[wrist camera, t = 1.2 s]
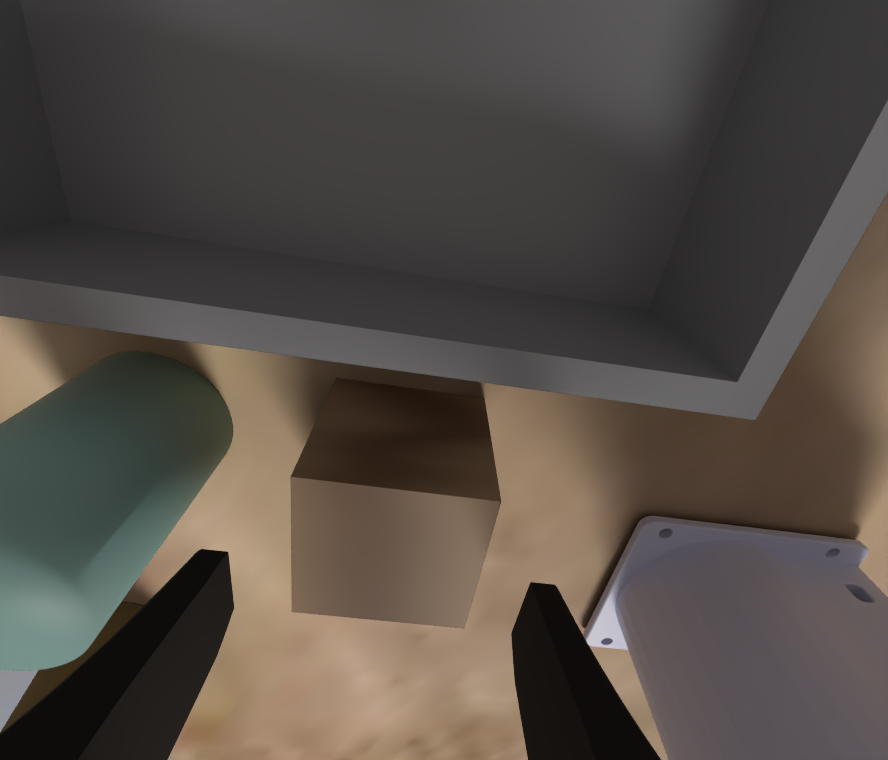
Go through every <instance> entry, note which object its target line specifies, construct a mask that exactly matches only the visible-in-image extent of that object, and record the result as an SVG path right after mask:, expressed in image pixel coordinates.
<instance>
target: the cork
mask: <svg viewBox="0 0 888 760" xmlns="http://www.w3.org/2000/svg"><path fill="white" fill-rule="evenodd" d="M142 607H143V606H141V605H137V604H133V603H122V602H121V603H120V604H119V606H118V607H117V609H116V610H115V611H114V613H113V614H112V616H111V617H110V618H109V620H108V621H107V623H106V624H105V626H104V627H103V628H102V630H101V631H100V633H99V634H98V635H97V637H96V638H95V640H94V641H93V643H92V644H91V645H90V647H89V648H88V649H87V650H86V651H85V652H84V653H83V654H82V655H81V656H79V657H78V658H76V659H75V660H73V661H71V662H69V663H66V664H63V665H60V666H57V667H53V668H48V669H41V670H39V671H38V672H37V674H36V676H35V677H34V679H33V680H32V682H31V684H30V685H29V687H28V689H27V690H26V692H25V694H24V695H23V696H22V698H21V700H20V701H19V703H18V705H17V706H16V708H15V709H14V711H13V713H12V714H11V716H10V718H9V719H8V721H7V722H6V724H5V726H4V727H3V729H2V731H4V730H5V729H6V728H7V727H9V726H10V725H11V724H12V723H14V722H15V721H16V720H17V719H18V718H20V717H21V716H22V715H23V714H24V713H26V712H27V711H28V710H29V709H31V708H32V707H33V706H34V705H35V704H36V703H38V702H39V701H40V700H41V699H42V698H44V697H45V696H46V695H47V694H48V693H49V692H51V691H52V690H53V689H54V688H55V687H56V686H58V685H59V684H60V683H61V682H62V681H63V680H64V679H65V678H67V677H68V676H69V675H70V674H71V673H72V672H73V671H74V670H76V669H77V668H78V667H79V666H80V665H81V664H82V663H83V662H85V661H86V660H87V659H88V658H89V657H90V656H91V655H92V654H94V653H95V652H96V651H97V650H98V649H99V648H100V647H101V646H102V645H103V644H105V643H106V642H107V641H108V640H109V639H110V638H111V637H112V636H113V635H114V634H115V633H116V632H117V631H118V630H119V629H120V628H121V627H122V626H123V625H125V624H126V623H127V622H128V621H129V620H130V619H131V618H132V617H133V616H134V615H135V614H136V613H137V612H138V611H139V610H140V609H141V608H142ZM2 731H1V732H2ZM1 732H0V733H1Z"/></svg>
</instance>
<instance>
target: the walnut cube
mask: <svg viewBox="0 0 888 760" xmlns="http://www.w3.org/2000/svg"><path fill="white" fill-rule="evenodd" d="M500 504H501V498H500V491H499V485H498V479H497V473H496V467H495V460H494V454H493V448H492V442H491V436H490V429H489V423H488V417H487V411H486V405H485V398H479V397H472V396H465V395H457V394H450V393H443V392H435V391H428V390H420V389H413V388H406V387H398V386H391V385H384V384H376V383H369V382H362V381H354V380H347V379H340V378H336V380H335V382H334V384H333V386H332V388H331V390H330V393H329V395H328V397H327V399H326V401H325V403H324V406H323V408H322V410H321V412H320V414H319V416H318V419H317V421H316V423H315V425H314V427H313V429H312V432H311V434H310V436H309V438H308V440H307V443H306V445H305V447H304V449H303V451H302V453H301V456H300V458H299V460H298V462H297V464H296V466H295V469H294V471H293V473H292V475H291V572H292V612H298V613H309V614H319V615H329V616H340V617H350V618H361V619H371V620H381V621H392V622H402V623H413V624H423V625H433V626H444V627H454V628H464V629H465V625H466V622H467V618H468V615H469V611H470V608H471V604H472V601H473V597H474V594H475V591H476V587H477V584H478V580H479V577H480V573H481V570H482V566H483V563H484V559H485V556H486V553H487V549H488V546H489V542H490V539H491V535H492V532H493V528H494V525H495V521H496V518H497V515H498V511H499V508H500Z"/></svg>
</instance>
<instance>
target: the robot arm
mask: <svg viewBox="0 0 888 760" xmlns="http://www.w3.org/2000/svg"><path fill="white" fill-rule="evenodd" d="M663 529H664V530H663ZM867 555H868V549H867V547H866V546H865V545H863V544H862V543H861V542H860V541H858V540H852V539H844V538H835V537H827V536H819V535H810V534H802V533H793V532H785V531H777V530H768V529H760V528H752V527H743V526H735V525H726V524H718V523H710V522H701V521H693V520H685V519H676V518H668V517H659V516H647V517H644V518H643V519H641V520H640V521H639V523H638V524H637V526H636V528H635V530H634V532H633V534H632V536H631V538H630V540H629V542H628V544H627V546H626V548H625V550H624V552H623V554H622V556H621V558H620V560H619V562H618V564H617V566H616V568H615V570H614V572H613V574H612V576H611V578H610V580H609V582H608V584H607V586H606V588H605V590H604V592H603V594H602V596H601V598H600V600H599V602H598V604H597V606H596V608H595V610H594V612H593V614H592V616H591V618H590V620H589V622H588V625H587V627H586V629H585V631H584V633H583V634H582V633H581V631H580V629H579V627H578V626H577V624H576V622H575V620H574V618H573V616H572V614H571V613H570V611H569V609H568V607H567V605H566V603H565V601H564V599H563V598H562V596H561V594H560V592H559V590H558V588H557V587H556V586H555V585H552V584H542V583H532V582H530V585H529V588H528V590H527V593H526V596H525V598H524V601H523V604H522V606H521V609H520V612H519V615H518V617H517V620H516V623H515V625H514V628H513V631H512V649H513V664H514V677H515V685H516V691H517V697H518V703H519V709H520V715H521V721H522V727H523V733H524V738H525V744H526V750H527V756H528V760H661V759H660V757H659V756H658V755H657V753H656V752H655V750H654V749H653V747H652V746H651V744H650V743H649V741H648V740H647V739H646V737H645V736H644V734H643V733H642V731H641V730H640V728H639V726H638V725H637V723H636V722H635V720H634V719H633V717H632V716H631V714H630V713H629V711H628V710H627V708H626V707H625V705H624V703H623V702H622V700H621V699H620V697H619V695H618V694H617V692H616V691H615V689H614V687H613V686H612V684H611V682H610V681H609V679H608V677H607V676H606V674H605V672H604V671H603V669H602V667H601V666H600V664H599V662H598V661H597V659H596V657H595V656H594V654H593V652H592V650H591V649H590V647H589V645H590V646H595V647H605V648H616V649H626V650H629V653H630V656H631V659H632V661H633V664H634V667H635V669H636V672H637V675H638V678H639V680H640V683H641V686H642V689H643V691H644V694H645V697H646V700H647V702H648V705H649V708H650V710H651V713H652V716H653V719H654V721H655V724H656V727H657V730H658V732H659V735H660V738H661V741H662V743H663V746H664V749H665V751H666V754H667V757H668V760H888V597H887V596H886V595H885V594H884V593H883V592H882V591H881V590H880V589H879V588H878V587H877V586H876V585H875V584H874V583H873V582H872V581H871V580H870V579H869V578H868V577H867V576H866V574H865V573H864V572H863V571H862V570H861V569H860V568H859V567H858V566H859V565H860V564H861V562H862V561H863V560H864V559H865V558H866V557H867ZM233 610H234V602H233V593H232V583H231V574H230V565H229V555H228V552H225V551H215V550H205V549H201V550H199V551H198V552H196V553H195V554H194V555H193V556H192V557H191V559H190V560H189V561H188V562H187V563H186V564H185V565H184V566H183V567H182V568H181V569H180V570H179V571H178V572H177V573H176V574H175V575H174V576H173V577H172V578H171V579H170V580H169V581H168V582H167V583H166V584H165V585H164V586H163V587H162V588H161V589H160V590H159V591H158V592H157V593H156V594H155V595H154V596H153V597H152V598H151V599H150V600H149V601H148V602H147V603H146V604H145V605H144V606H143V607H142V608H141V609H140V610H139V611H138V612H137V613H136V614H135V615H134V616H133V617H132V618H131V619H130V620H129V621H128V622H127V623H126V624H125V625H123V626H122V627H121V628H120V629H119V630H118V631H117V632H116V633H115V634H114V635H113V636H112V637H111V638H110V639H109V640H108V641H107V642H106V643H105V644H103V645H102V646H101V647H100V648H99V649H98V650H97V651H96V652H95V653H94V654H92V655H91V656H90V657H89V658H88V659H87V660H86V661H85V662H83V663H82V664H81V665H80V666H79V667H78V668H77V669H76V670H74V671H73V672H72V673H71V674H70V675H69V676H68V677H67V678H65V679H64V680H63V681H62V682H61V683H60V684H59V685H58V686H56V687H55V688H54V689H53V690H52V691H51V692H49V693H48V694H47V695H46V696H45V697H44V698H42V699H41V700H40V701H39V702H38V703H36V704H35V705H34V706H33V707H32V708H31V709H29V710H28V711H27V712H26V713H24V714H23V715H22V716H21V717H20V718H18V719H17V720H16V721H15V722H14V723H12V724H11V725H10V726H9V727H7V728H6V729H5V730H4V731H2V732H1V733H0V760H167V759H168V757H169V755H170V753H171V751H172V749H173V747H174V745H175V743H176V741H177V739H178V736H179V734H180V732H181V730H182V728H183V726H184V724H185V722H186V720H187V718H188V716H189V714H190V711H191V709H192V707H193V705H194V703H195V701H196V699H197V697H198V695H199V693H200V691H201V688H202V686H203V684H204V682H205V680H206V678H207V676H208V674H209V672H210V669H211V667H212V665H213V663H214V661H215V659H216V657H217V654H218V651H219V649H220V646H221V643H222V641H223V638H224V635H225V632H226V630H227V627H228V624H229V621H230V618H231V615H232V612H233ZM583 635H584V636H583Z"/></svg>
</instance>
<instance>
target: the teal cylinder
mask: <svg viewBox="0 0 888 760" xmlns="http://www.w3.org/2000/svg"><path fill="white" fill-rule="evenodd" d="M232 437H233V424H232V418H231V415H230V412H229V409H228V407H227V405H226V403H225V401H224V400H223V398H222V397H221V395H220V394H219V393H218V391H217V390H216V389H215V388H214V387H213V386H212V385H211V384H210V383H209V382H208V381H207V380H206V379H205V378H204V377H203V376H201V375H200V374H199V373H197V372H196V371H194V370H193V369H191V368H190V367H188V366H186V365H184V364H182V363H181V362H178V361H176V360H173V359H171V358H168V357H165V356H162V355H158V354H153V353H147V352H125V353H119V354H116V355H113V356H109V357H107V358H105V359H103V360H102V361H100V362H98V363H97V364H95V365H94V366H92V367H90V368H89V369H87V370H86V371H84V372H82V373H81V374H79V375H78V376H76V377H74V378H73V379H71V380H70V381H68V382H66V383H65V384H63V385H62V386H60V387H59V388H57V389H55V390H54V391H52V392H51V393H49V394H47V395H46V396H44V397H43V398H41V399H39V400H38V401H36V402H35V403H33V404H31V405H30V406H28V407H27V408H25V409H23V410H22V411H20V412H19V413H17V414H16V415H14V416H12V417H11V418H9V419H8V420H6V421H4V422H3V423H1V424H0V670H12V671H27V670H28V671H29V670H30V671H31V670H41V669H48V668H53V667H57V666H60V665H63V664H66V663H69V662H71V661H73V660H75V659H76V658H78V657H79V656H81V655H82V654H83V653H84V652H85V651H86V650H87V649H88V648H89V647H90V645H91V644H92V643H93V641H94V640H95V638H96V637H97V635H98V634H99V633H100V631H101V630H102V628H103V627H104V626H105V624H106V623H107V621H108V620H109V618H110V617H111V616H112V614H113V613H114V611H115V610H116V609H117V607H118V606H119V604H120V603H121V602H122V600H123V599H124V597H125V596H126V594H127V593H128V592H129V590H130V589H131V587H132V586H133V585H134V583H135V582H136V580H137V579H138V577H139V576H140V575H141V573H142V572H143V570H144V569H145V568H146V566H147V565H148V563H149V562H150V560H151V559H152V558H153V556H154V555H155V553H156V552H157V551H158V549H159V548H160V546H161V545H162V544H163V542H164V541H165V539H166V538H167V536H168V535H169V534H170V532H171V531H172V529H173V528H174V527H175V525H176V524H177V522H178V521H179V519H180V518H181V517H182V515H183V514H184V512H185V511H186V510H187V508H188V507H189V505H190V504H191V502H192V501H193V500H194V498H195V497H196V495H197V494H198V493H199V491H200V490H201V488H202V487H203V486H204V484H205V483H206V481H207V480H208V478H209V477H210V476H211V474H212V473H213V471H214V470H215V469H216V467H217V466H218V464H219V463H220V461H221V460H222V459H223V457H224V456H225V454H226V453H227V451H228V449H229V448H230V445H231V442H232Z"/></svg>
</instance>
